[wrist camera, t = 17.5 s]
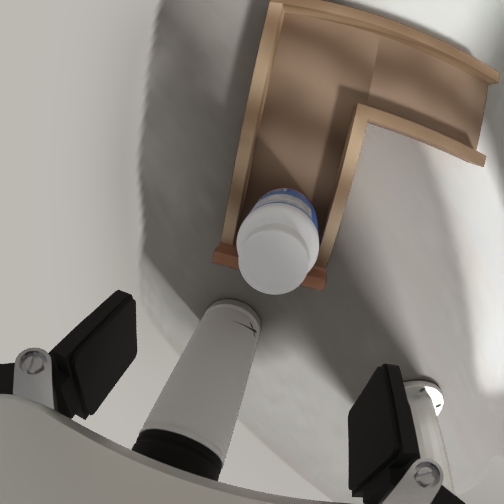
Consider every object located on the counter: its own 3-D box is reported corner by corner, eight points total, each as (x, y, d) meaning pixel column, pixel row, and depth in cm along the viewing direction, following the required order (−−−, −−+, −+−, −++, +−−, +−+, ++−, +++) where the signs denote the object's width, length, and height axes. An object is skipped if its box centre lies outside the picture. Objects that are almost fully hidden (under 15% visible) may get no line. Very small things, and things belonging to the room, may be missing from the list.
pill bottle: (300, 256, 27) (294, 320, 18) (244, 232, 27) (212, 285, 18) (327, 201, 25) (337, 244, 16) (268, 175, 25) (244, 202, 16)
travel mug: (264, 300, 31) (210, 487, 12) (258, 349, 33) (212, 515, 15) (205, 290, 31) (107, 451, 13) (204, 338, 34) (131, 489, 16)
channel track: (421, 290, 27) (437, 318, 22) (227, 240, 29) (212, 262, 24) (483, 76, 18) (512, 71, 13) (276, 5, 19) (268, -19, 15)
